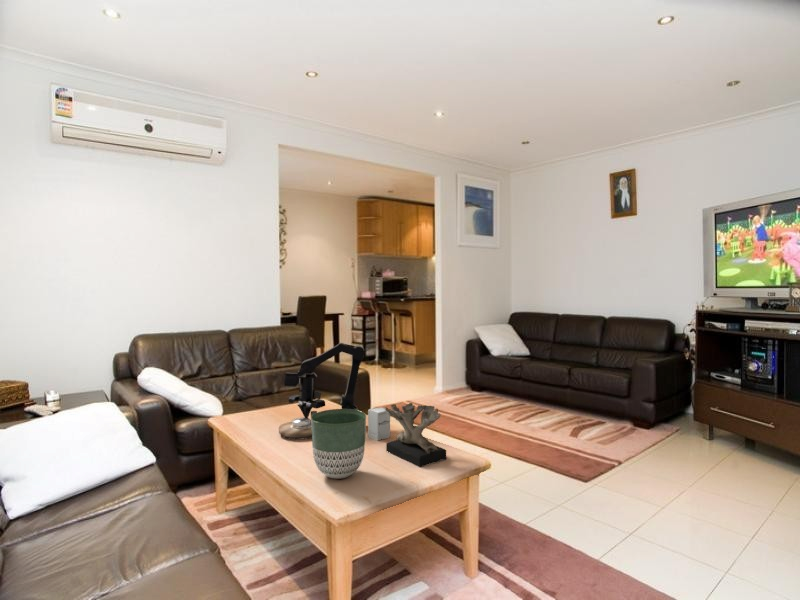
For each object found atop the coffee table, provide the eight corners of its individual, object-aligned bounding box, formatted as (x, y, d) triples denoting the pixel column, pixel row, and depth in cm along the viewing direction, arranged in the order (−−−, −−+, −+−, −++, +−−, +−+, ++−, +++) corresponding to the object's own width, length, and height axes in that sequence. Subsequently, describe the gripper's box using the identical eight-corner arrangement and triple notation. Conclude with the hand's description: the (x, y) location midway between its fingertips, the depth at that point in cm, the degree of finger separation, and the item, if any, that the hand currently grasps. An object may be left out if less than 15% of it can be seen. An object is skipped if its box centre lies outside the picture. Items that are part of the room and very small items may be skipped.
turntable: (332, 428, 211) (331, 414, 211) (299, 440, 195) (298, 424, 195) (302, 421, 223) (302, 407, 223) (269, 431, 207) (269, 416, 206)
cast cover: (313, 425, 209) (313, 419, 209) (300, 430, 203) (300, 423, 203) (302, 422, 214) (302, 416, 214) (288, 427, 208) (288, 420, 207)
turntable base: (325, 431, 211) (325, 429, 211) (301, 441, 198) (301, 438, 198) (300, 426, 220) (300, 423, 220) (275, 435, 206) (275, 432, 206)
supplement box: (377, 441, 198) (377, 412, 198) (367, 437, 204) (367, 409, 203) (390, 437, 203) (390, 409, 202) (380, 433, 208) (380, 406, 208)
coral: (452, 462, 174) (452, 406, 173) (410, 474, 162) (410, 415, 162) (413, 444, 194) (413, 394, 194) (373, 454, 182) (373, 401, 182)
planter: (349, 461, 175) (348, 406, 175) (376, 477, 159) (376, 417, 159) (302, 473, 163) (301, 414, 163) (327, 492, 148) (326, 427, 147)
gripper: (333, 386, 217) (332, 418, 218) (304, 381, 227) (304, 411, 228) (317, 390, 208) (316, 424, 209) (288, 385, 218) (287, 417, 218)
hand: (306, 419), depth 216 cm, fingers closed
